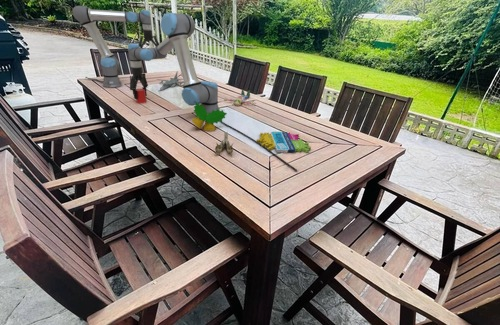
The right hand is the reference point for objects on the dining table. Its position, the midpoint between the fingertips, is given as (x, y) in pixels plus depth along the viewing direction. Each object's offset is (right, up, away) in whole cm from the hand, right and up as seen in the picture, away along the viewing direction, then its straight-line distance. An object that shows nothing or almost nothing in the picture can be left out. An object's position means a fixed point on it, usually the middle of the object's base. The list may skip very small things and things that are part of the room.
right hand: (140, 97), depth 201 cm
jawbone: (+71, -44, -63) cm, 105 cm away
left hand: (-10, +52, +46) cm, 70 cm away
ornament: (+59, -29, -37) cm, 75 cm away
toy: (+77, +1, +19) cm, 80 cm away
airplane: (+9, +23, +50) cm, 56 cm away
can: (0, -3, +2) cm, 4 cm away
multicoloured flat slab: (+103, -39, -49) cm, 121 cm away
